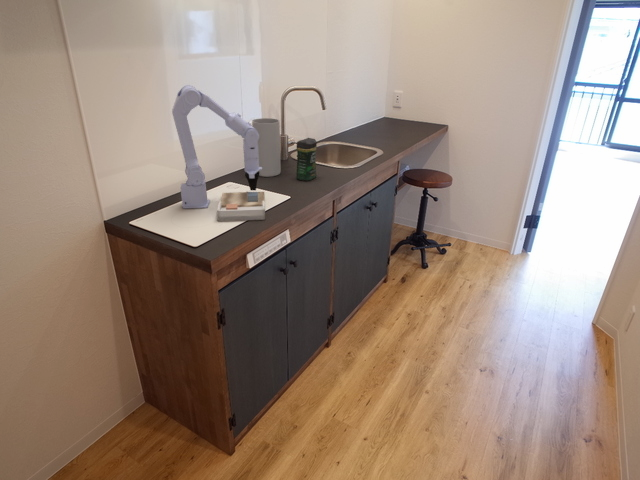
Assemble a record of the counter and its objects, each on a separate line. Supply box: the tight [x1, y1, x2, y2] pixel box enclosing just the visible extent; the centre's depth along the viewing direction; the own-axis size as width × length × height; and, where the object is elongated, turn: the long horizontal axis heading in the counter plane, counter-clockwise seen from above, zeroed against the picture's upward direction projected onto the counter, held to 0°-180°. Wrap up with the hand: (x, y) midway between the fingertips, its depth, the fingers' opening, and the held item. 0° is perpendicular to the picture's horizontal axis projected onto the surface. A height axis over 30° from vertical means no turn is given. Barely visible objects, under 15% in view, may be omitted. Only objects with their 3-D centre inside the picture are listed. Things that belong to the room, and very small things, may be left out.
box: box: [216, 200, 266, 222], centre depth 155 cm, size 17×9×4 cm, turn 97°
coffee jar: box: [295, 137, 318, 182], centre depth 193 cm, size 10×8×19 cm
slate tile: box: [247, 191, 259, 202], centre depth 163 cm, size 4×4×2 cm
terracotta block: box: [226, 204, 238, 210], centre depth 154 cm, size 4×4×2 cm
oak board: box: [219, 191, 266, 207], centre depth 166 cm, size 17×14×2 cm
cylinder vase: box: [251, 117, 282, 178], centre depth 197 cm, size 12×12×25 cm
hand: (253, 189), depth 171 cm, fingers closed
